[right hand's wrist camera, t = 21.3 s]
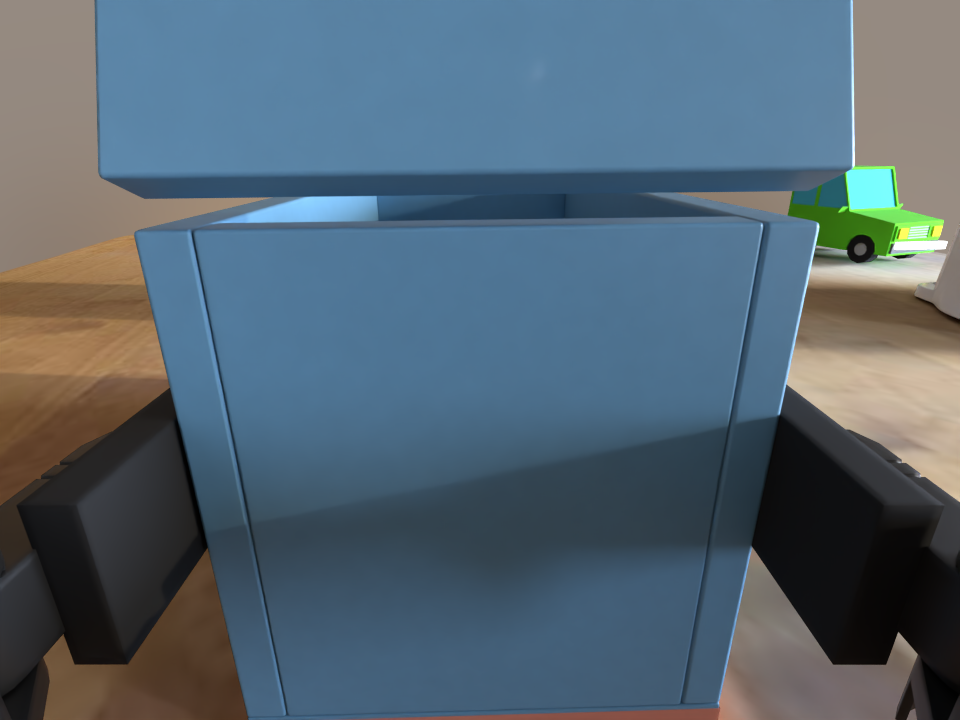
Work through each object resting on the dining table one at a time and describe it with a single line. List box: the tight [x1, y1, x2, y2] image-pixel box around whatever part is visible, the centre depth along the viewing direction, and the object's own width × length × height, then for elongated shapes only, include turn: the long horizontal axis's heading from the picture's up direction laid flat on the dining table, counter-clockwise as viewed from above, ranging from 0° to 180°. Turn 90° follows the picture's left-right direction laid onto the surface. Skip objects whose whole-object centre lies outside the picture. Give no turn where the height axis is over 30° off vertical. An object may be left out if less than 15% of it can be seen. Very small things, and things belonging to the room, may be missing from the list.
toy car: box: [788, 166, 943, 263], centre depth 63 cm, size 10×13×10 cm
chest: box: [134, 192, 819, 720], centre depth 18 cm, size 18×10×11 cm, turn 1°
